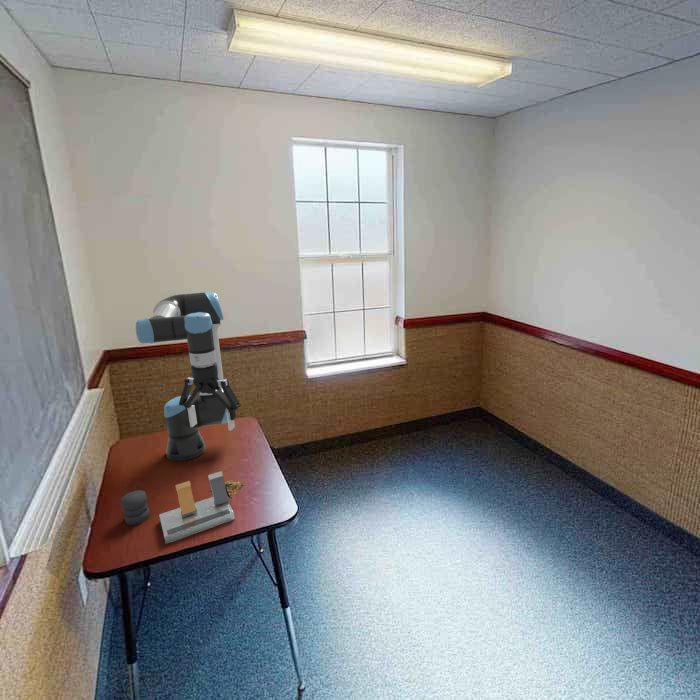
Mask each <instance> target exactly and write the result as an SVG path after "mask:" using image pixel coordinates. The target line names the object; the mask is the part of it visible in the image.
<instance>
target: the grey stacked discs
mask: <svg viewBox="0 0 700 700" xmlns="http://www.w3.org/2000/svg"><path fill="white" fill-rule="evenodd" d="M120 502H121V503H120V504H121V507H122V510H123V511H124V512H123V513H124V514H123V517H124V521H125V524H126V525H128V526H136V525H139V524H142V523H145V522H146V521H147V520H148V519H149V518H150V516H151V513H150V508H149V505H148V503H147V502H148V499H147V492H146V491H145V490H134V491H131V492H128V493H127V494H125V495H123V496H122V497H121V499H120Z"/></svg>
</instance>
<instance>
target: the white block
mask: <svg viewBox="0 0 700 700" xmlns="http://www.w3.org/2000/svg"><path fill="white" fill-rule="evenodd" d="M207 477H208V481H209V484H210V490H211V489H212V490H211V492H212V497H213V498H214V504H215V506H216V505H219V504H221V503H224V502H227V501H228V502H229V501H230V497H229V496H228V491H227V488H225V484H224V483H225V481H224V473H223V471H222V470H221V471H218V472H213V473H211V474H208V476H207Z"/></svg>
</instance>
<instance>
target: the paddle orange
mask: <svg viewBox="0 0 700 700" xmlns="http://www.w3.org/2000/svg"><path fill="white" fill-rule="evenodd" d="M191 485H192V484H191V480H188V481H184V482H181V483H178V484H175V490H176V493H177V499H178V503H179V508H181V516H182V517H183V516H186V515H189V514H192V513H195V512H197V509H196V507H195V504H194V503H195V500H194V496H193V491H192V486H191Z"/></svg>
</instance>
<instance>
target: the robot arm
mask: <svg viewBox="0 0 700 700" xmlns="http://www.w3.org/2000/svg"><path fill="white" fill-rule="evenodd" d="M152 312H153V314H152V315H151V316H150V318H143V319H138V320H137V321H136V322H135V331H136V332H135V333H136V337H137V340H138V342H139V343H141V344H155V343H162V342H163V343H164V342H171V341H183V340H186V341H187V347H188V355H189V362H190V365H191V367H190V369H191V376H188V377H187V378H185V379H184V385H183V389H182V392H181V394H180V395H179V396H176V397H174V398H172V399H169V401H167V402H166V403H165V404H164V406H163V410H164V412H163V413H164V416H163V417H164V419H165V423H166V430H167V437H168V438H167V439H168V440H167V445H166V449H165V452H166V453H165V454H166V457H167V459H168V460H170V461H173V462H184V461H188V460H189V461H190V460H191V459H192V460H193V459H195V458H197V457H199V456H201V455H202V454H203V453H204V452H205V451H206V449H207V447H206V441H205V440H204V438H203V436H202V435H201V433H200V430H199V428H202V427H208V426H215V425H222V424H226V423H227V428H228V430H227V431H228V432H229V431H230V432H231V431H232V430H233V429H235V427H236V424H235V419H237V415H236V410H238V409H239V408H240V407H241V405H242V404H241V402H239V401H240V400H239V399H238V397H237V396H236V395H235V393H234V391H233V389H232V387H231V386H230V383H229V380H228V378H224V372H223V366H222V365H223V363H222V356H221V346H220V340H219V331H218V330H219V328H220V326H221V324H222V323H221V321H223V320H224V315H223V311H222V307H221V303H220V300H219V296H218V294H217V293H215V292H213V291H212V292H206V291H205V292H195V293H183V294H173V295H171V296H168V297H166V298H163V299H162V300H160V301H159V302H158V303H156V304H155V306H154V308H153V311H152ZM193 385H194V386H195V388H194V389H193V390H192V386H193ZM191 391H192V393H191ZM190 393H191V394H190ZM198 396H199V398H198Z"/></svg>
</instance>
